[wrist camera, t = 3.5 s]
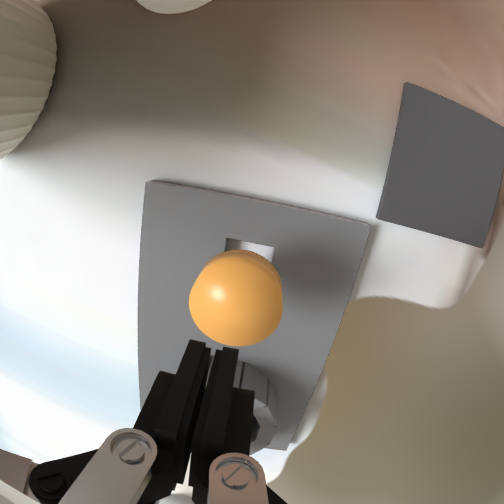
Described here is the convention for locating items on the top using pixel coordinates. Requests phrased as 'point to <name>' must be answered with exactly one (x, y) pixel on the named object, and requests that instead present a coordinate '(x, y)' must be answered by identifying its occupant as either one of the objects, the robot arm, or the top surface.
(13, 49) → the canister
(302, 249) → the plate
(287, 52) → the top surface
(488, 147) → the mat
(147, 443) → the robot arm
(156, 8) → the cylindrical container
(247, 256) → the plunger
